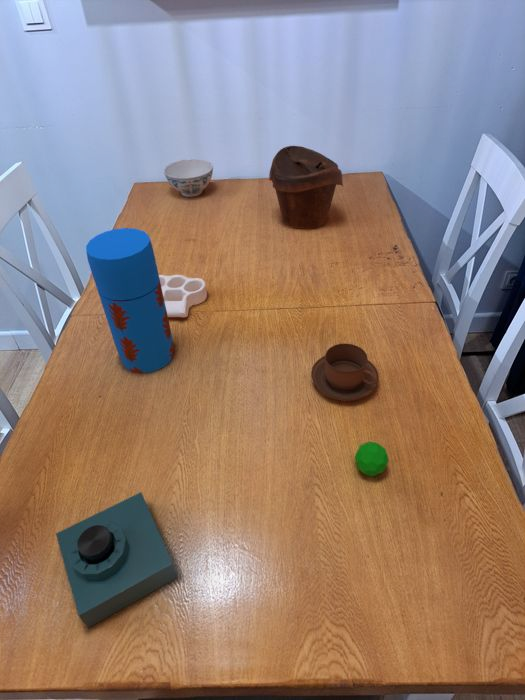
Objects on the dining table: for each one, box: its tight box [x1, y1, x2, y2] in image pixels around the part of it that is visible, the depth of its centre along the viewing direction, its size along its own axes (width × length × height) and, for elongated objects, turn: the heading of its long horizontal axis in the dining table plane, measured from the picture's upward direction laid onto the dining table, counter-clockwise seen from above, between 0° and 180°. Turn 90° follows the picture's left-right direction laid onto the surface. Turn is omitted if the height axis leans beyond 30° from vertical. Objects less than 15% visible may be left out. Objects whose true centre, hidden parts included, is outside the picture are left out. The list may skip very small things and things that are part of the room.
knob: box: [77, 525, 114, 563], centre depth 61 cm, size 4×4×2 cm
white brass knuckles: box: [159, 274, 208, 318], centre depth 110 cm, size 3×18×15 cm
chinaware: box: [163, 158, 214, 198], centre depth 152 cm, size 15×15×8 cm
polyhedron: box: [354, 441, 390, 477], centre depth 74 cm, size 5×5×5 cm
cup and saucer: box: [310, 343, 380, 402], centre depth 87 cm, size 12×12×6 cm
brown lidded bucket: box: [268, 145, 344, 230], centre depth 132 cm, size 18×20×18 cm
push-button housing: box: [55, 491, 179, 629], centre depth 64 cm, size 12×12×6 cm
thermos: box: [85, 227, 175, 374], centre depth 89 cm, size 11×11×25 cm
